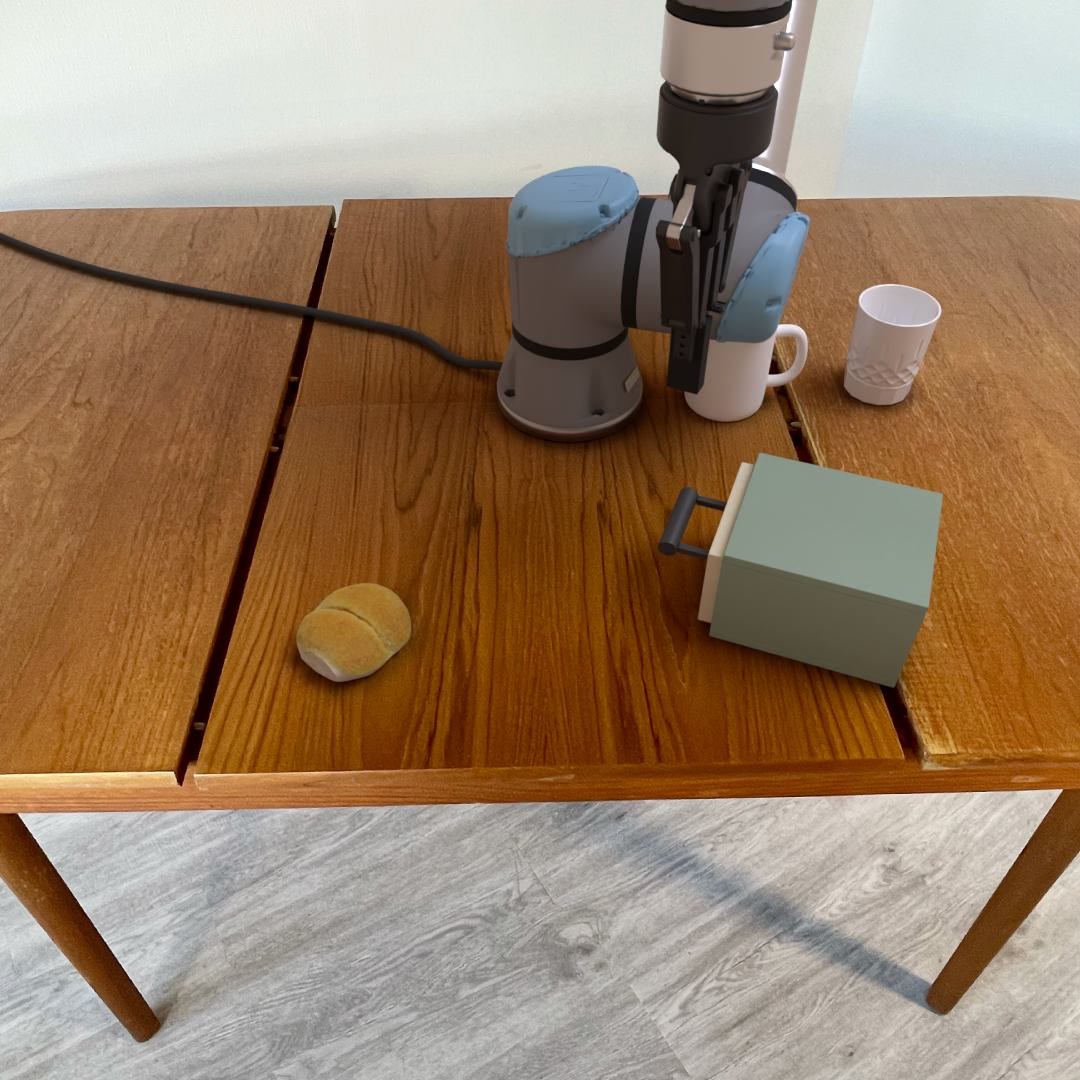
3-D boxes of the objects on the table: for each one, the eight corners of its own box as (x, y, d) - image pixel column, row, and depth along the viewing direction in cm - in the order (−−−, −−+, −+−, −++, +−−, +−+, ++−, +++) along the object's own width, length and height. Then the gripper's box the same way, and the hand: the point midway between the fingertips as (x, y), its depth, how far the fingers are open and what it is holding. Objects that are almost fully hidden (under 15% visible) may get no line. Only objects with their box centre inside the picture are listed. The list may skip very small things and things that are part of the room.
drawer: (645, 605, 77) (652, 539, 71) (681, 515, 84) (690, 449, 78) (867, 666, 72) (892, 601, 66) (884, 566, 79) (909, 499, 74)
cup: (678, 376, 100) (688, 293, 93) (789, 375, 100) (807, 291, 93) (688, 424, 95) (698, 339, 87) (805, 422, 95) (825, 337, 87)
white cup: (916, 413, 95) (945, 329, 88) (838, 405, 96) (860, 322, 89) (910, 369, 101) (937, 287, 94) (836, 362, 102) (857, 280, 95)
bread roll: (430, 626, 76) (425, 595, 74) (355, 700, 71) (346, 669, 69) (358, 583, 80) (350, 551, 77) (281, 651, 75) (270, 619, 72)
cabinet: (708, 636, 75) (723, 554, 68) (742, 533, 83) (759, 452, 77) (893, 688, 71) (928, 607, 65) (910, 575, 80) (943, 493, 73)
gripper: (742, 130, 53) (699, 444, 70) (807, 57, 61) (754, 355, 78) (623, 109, 56) (609, 417, 73) (700, 41, 64) (671, 333, 81)
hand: (684, 385), depth 75 cm, fingers closed
